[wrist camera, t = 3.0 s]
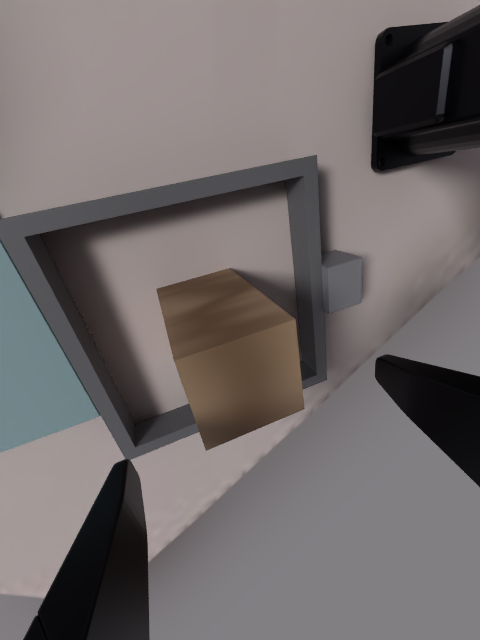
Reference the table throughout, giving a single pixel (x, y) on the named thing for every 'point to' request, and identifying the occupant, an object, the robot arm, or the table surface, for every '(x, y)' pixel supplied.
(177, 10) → the table surface
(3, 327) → the rubber mat
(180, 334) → the walnut plug block
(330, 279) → the gray rectangular frame
